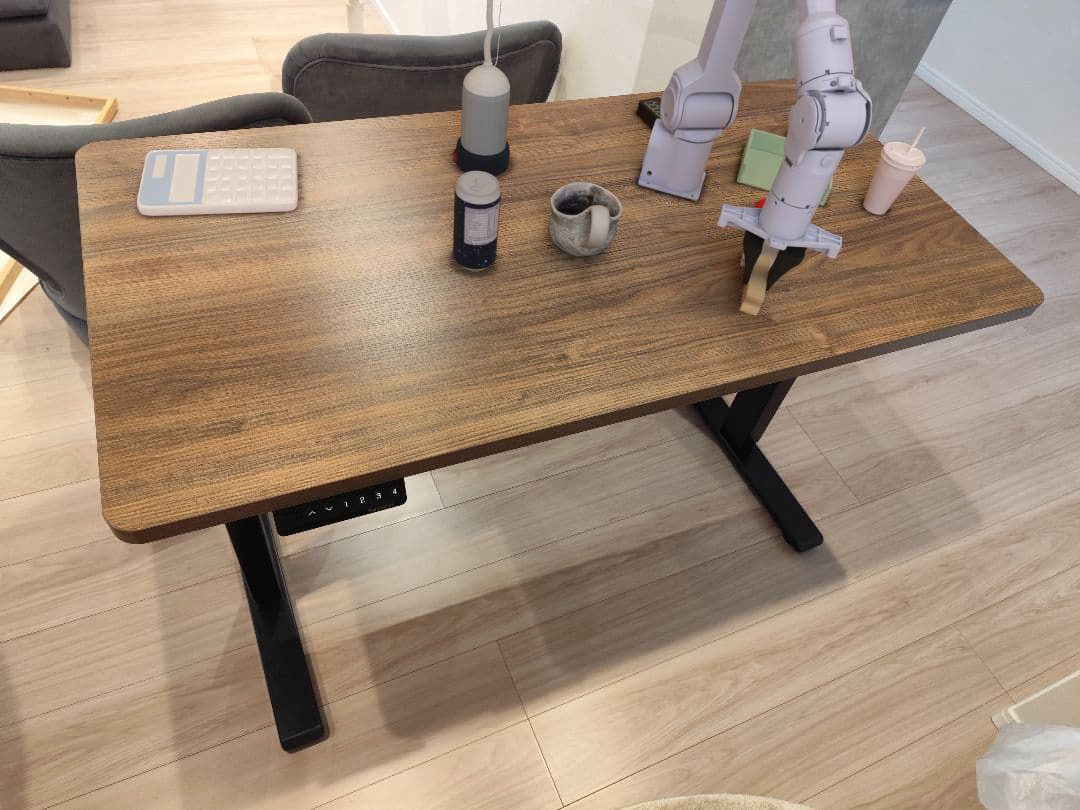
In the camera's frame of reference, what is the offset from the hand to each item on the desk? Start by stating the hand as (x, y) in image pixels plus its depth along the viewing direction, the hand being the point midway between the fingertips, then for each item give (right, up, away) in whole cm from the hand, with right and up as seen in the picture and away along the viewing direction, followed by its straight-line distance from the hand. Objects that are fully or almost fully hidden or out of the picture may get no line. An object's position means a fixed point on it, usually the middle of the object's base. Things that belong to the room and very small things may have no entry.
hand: (755, 282), depth 94 cm
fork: (+1, +2, +3) cm, 4 cm away
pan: (+13, +25, +28) cm, 39 cm away
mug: (-22, +5, +7) cm, 23 cm away
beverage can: (-37, +3, +3) cm, 37 cm away
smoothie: (+25, +15, +22) cm, 37 cm away
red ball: (+6, +13, +15) cm, 21 cm away
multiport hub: (-7, +31, +30) cm, 44 cm away
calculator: (-72, +14, +7) cm, 73 cm away
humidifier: (-37, +21, +18) cm, 46 cm away
